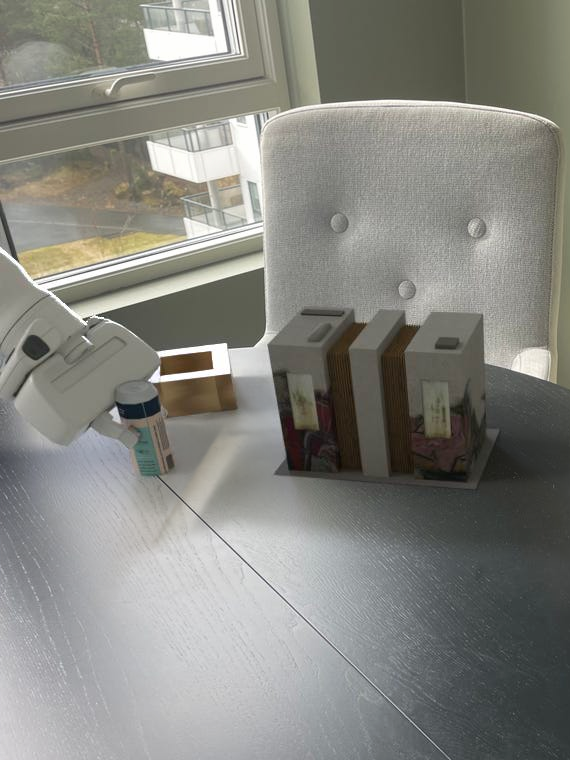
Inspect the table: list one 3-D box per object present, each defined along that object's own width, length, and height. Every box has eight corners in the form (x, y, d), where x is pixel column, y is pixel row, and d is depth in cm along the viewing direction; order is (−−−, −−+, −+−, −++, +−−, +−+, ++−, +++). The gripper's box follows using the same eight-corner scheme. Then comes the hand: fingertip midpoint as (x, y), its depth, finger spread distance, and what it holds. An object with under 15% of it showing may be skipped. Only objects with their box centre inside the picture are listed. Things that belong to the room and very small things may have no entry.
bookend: (475, 489, 113) (470, 354, 103) (272, 474, 117) (249, 343, 107) (500, 429, 125) (497, 303, 115) (315, 417, 129) (298, 295, 119)
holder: (151, 419, 130) (142, 384, 127) (152, 386, 139) (144, 352, 136) (237, 408, 132) (230, 373, 129) (233, 376, 141) (226, 343, 138)
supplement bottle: (172, 467, 119) (149, 374, 112) (184, 483, 116) (161, 388, 108) (133, 478, 117) (107, 384, 110) (144, 494, 114) (118, 398, 107)
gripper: (87, 329, 118) (178, 409, 122) (-16, 398, 102) (92, 488, 106) (110, 293, 114) (203, 378, 118) (7, 360, 99) (118, 454, 103)
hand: (150, 431), depth 112 cm, fingers closed on supplement bottle, 5 cm apart
